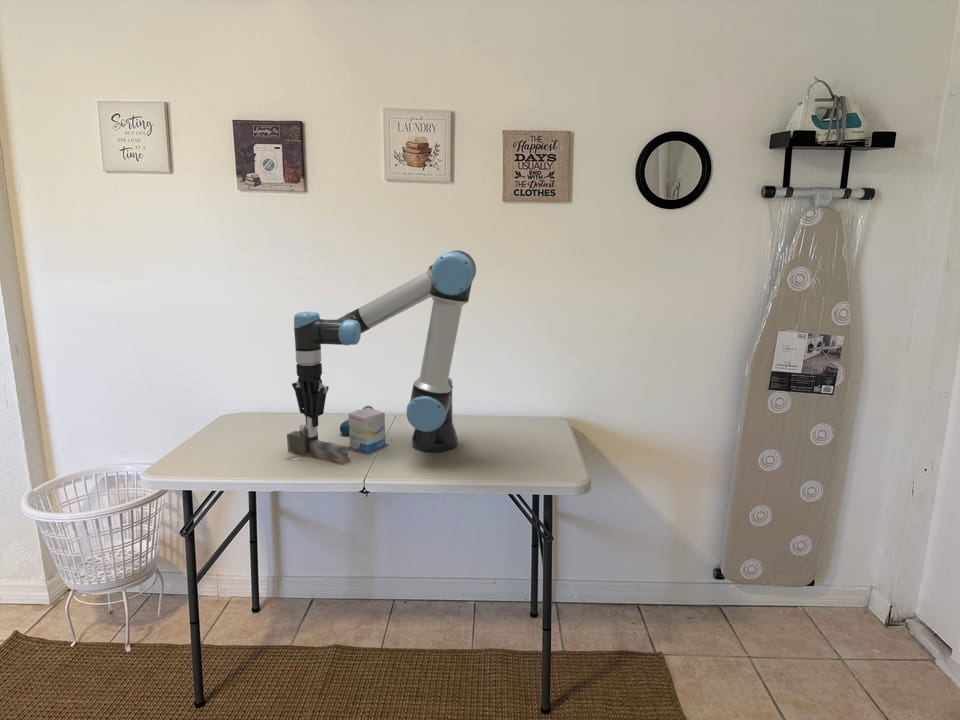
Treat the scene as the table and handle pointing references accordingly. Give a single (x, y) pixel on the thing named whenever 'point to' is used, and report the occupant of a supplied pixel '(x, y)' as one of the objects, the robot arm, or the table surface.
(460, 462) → the table surface
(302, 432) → the clip
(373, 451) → the mat
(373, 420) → the ink box
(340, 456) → the vise
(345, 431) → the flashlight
